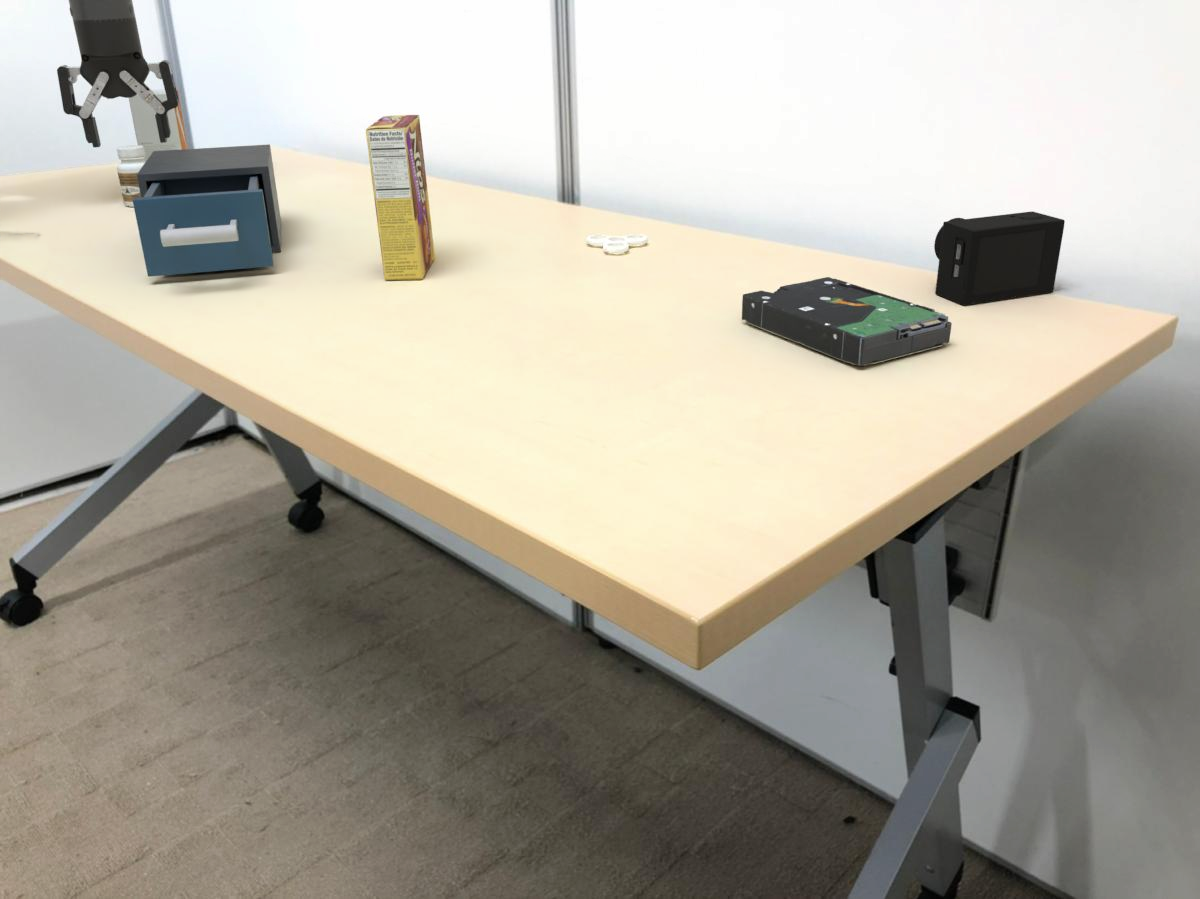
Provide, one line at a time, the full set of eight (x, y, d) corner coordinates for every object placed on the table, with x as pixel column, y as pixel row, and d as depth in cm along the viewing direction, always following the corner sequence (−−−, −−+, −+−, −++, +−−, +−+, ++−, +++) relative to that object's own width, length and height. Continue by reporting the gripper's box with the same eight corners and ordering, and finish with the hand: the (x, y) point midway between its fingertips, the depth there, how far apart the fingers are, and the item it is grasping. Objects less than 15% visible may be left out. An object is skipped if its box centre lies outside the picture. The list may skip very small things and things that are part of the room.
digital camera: (1014, 278, 105) (1024, 207, 102) (1054, 292, 100) (1066, 218, 97) (926, 291, 101) (934, 218, 98) (963, 306, 97) (973, 230, 94)
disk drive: (738, 325, 93) (860, 370, 82) (739, 294, 92) (863, 336, 81) (825, 304, 98) (952, 345, 87) (827, 275, 97) (956, 312, 86)
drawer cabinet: (280, 252, 121) (268, 165, 117) (153, 262, 117) (136, 174, 113) (281, 221, 135) (269, 144, 131) (168, 230, 132) (153, 151, 128)
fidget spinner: (581, 242, 121) (581, 235, 121) (631, 235, 124) (631, 228, 124) (610, 255, 116) (610, 248, 115) (661, 247, 118) (661, 240, 118)
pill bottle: (117, 207, 146) (105, 149, 143) (137, 200, 150) (126, 144, 147) (145, 208, 145) (134, 149, 142) (164, 201, 149) (154, 144, 146)
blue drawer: (272, 280, 106) (261, 202, 103) (141, 291, 103) (124, 211, 100) (274, 234, 125) (264, 166, 122) (163, 242, 122) (149, 173, 119)
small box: (188, 182, 162) (172, 93, 156) (144, 185, 160) (126, 95, 155) (193, 173, 169) (178, 87, 163) (151, 176, 167) (134, 89, 162)
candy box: (396, 259, 117) (382, 114, 110) (435, 258, 116) (423, 113, 110) (380, 281, 108) (364, 126, 102) (422, 280, 108) (408, 125, 102)
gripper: (164, 12, 142) (187, 136, 149) (49, 16, 139) (78, 143, 146) (159, 14, 136) (183, 144, 143) (38, 19, 132) (69, 152, 139)
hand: (130, 144), depth 144 cm, fingers open, 8 cm apart
